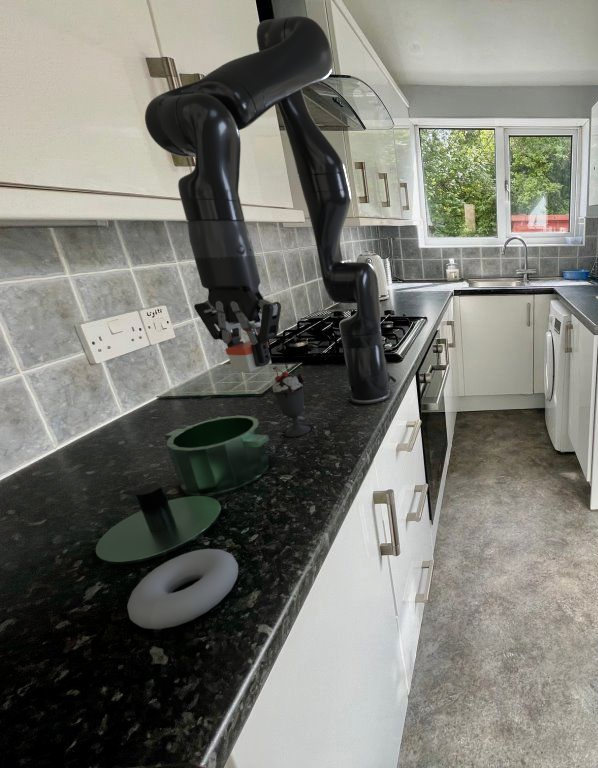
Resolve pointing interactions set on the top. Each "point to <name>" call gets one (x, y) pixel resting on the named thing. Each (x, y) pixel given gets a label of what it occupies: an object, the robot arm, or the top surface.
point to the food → (242, 357)
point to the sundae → (290, 400)
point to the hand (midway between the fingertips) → (251, 364)
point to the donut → (167, 609)
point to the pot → (218, 455)
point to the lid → (157, 526)
